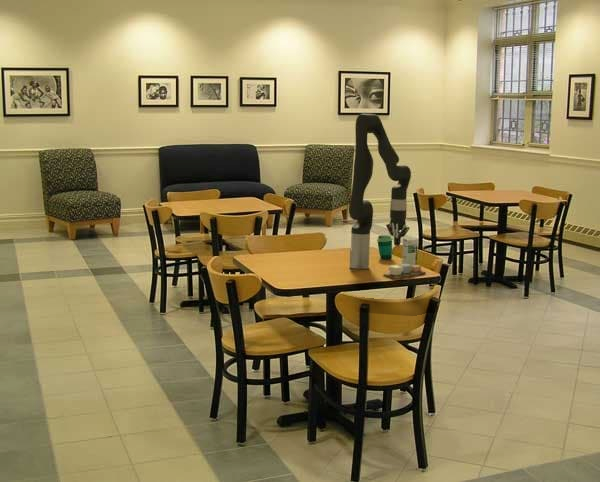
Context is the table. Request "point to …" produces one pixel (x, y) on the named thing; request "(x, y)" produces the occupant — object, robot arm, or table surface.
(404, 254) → the syrup box
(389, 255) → the cup
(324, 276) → the table surface
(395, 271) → the key cream
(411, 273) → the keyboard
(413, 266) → the key terracotta
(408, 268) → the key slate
